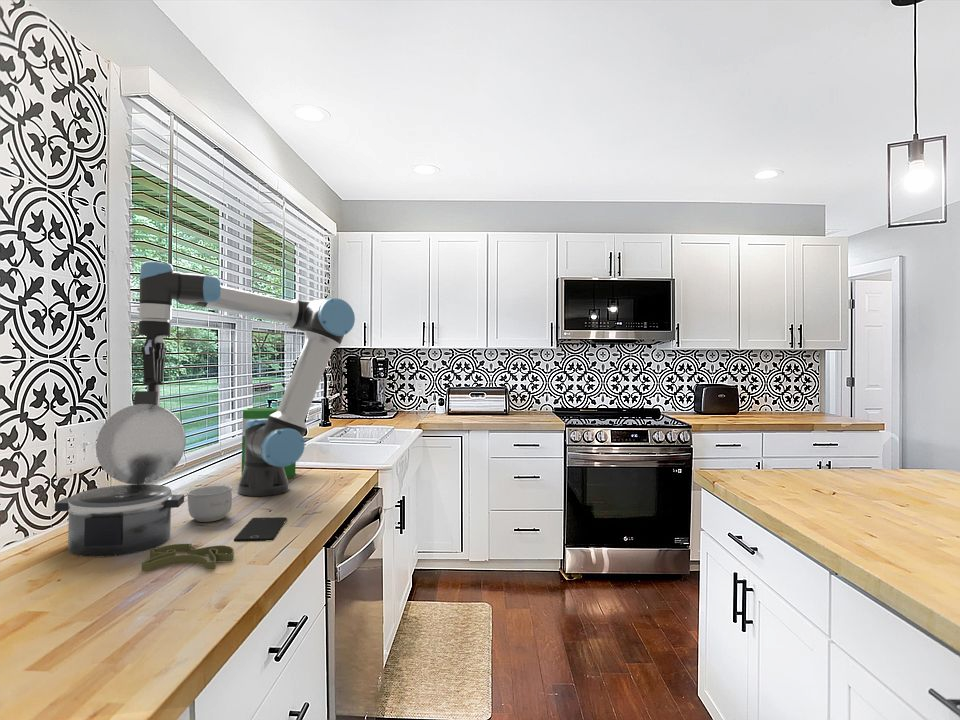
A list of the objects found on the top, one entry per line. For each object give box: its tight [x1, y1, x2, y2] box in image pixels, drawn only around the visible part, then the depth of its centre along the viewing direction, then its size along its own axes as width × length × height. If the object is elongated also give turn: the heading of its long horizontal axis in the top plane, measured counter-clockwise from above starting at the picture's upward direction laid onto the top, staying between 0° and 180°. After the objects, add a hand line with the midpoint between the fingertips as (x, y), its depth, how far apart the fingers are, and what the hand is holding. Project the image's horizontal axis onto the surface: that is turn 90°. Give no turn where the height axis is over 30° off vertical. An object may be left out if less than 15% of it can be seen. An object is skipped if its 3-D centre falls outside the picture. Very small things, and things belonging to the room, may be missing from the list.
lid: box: [95, 390, 187, 485], centre depth 146 cm, size 20×23×2 cm
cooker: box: [54, 483, 185, 557], centre depth 134 cm, size 25×22×11 cm
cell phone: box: [233, 516, 287, 542], centre depth 145 cm, size 9×18×1 cm, turn 8°
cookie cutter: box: [141, 543, 235, 572], centre depth 123 cm, size 18×12×2 cm, turn 97°
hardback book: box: [240, 407, 297, 478], centre depth 207 cm, size 18×7×24 cm, turn 106°
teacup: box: [186, 483, 233, 523], centre depth 154 cm, size 14×11×8 cm
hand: (153, 409), depth 154 cm, fingers closed
